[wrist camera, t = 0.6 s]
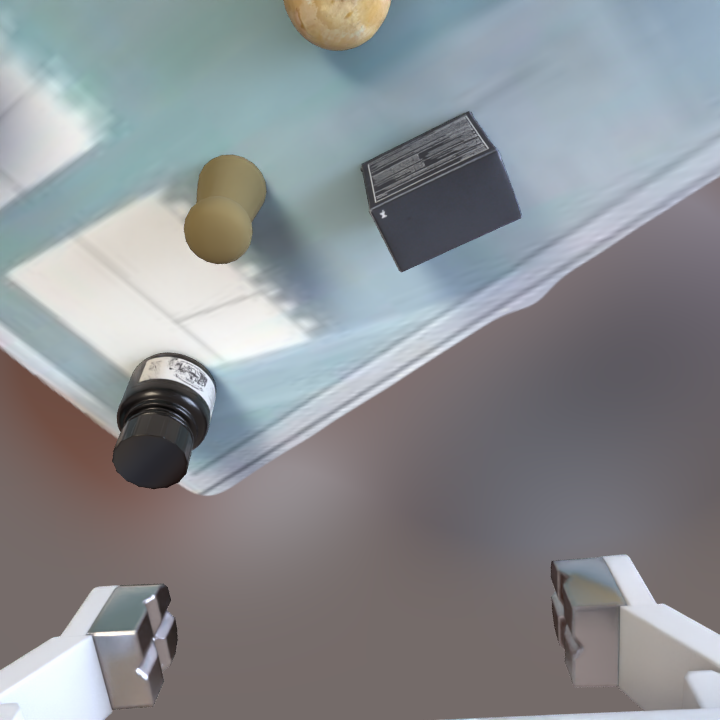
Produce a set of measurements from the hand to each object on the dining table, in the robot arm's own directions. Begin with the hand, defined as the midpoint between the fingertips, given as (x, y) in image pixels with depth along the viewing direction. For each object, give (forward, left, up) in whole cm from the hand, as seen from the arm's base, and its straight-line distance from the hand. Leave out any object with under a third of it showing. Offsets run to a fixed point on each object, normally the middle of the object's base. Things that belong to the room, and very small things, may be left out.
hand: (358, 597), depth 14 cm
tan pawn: (+11, -6, -50) cm, 51 cm away
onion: (-7, -2, -50) cm, 50 cm away
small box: (+4, +10, -50) cm, 51 cm away
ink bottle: (+34, -7, -50) cm, 61 cm away
